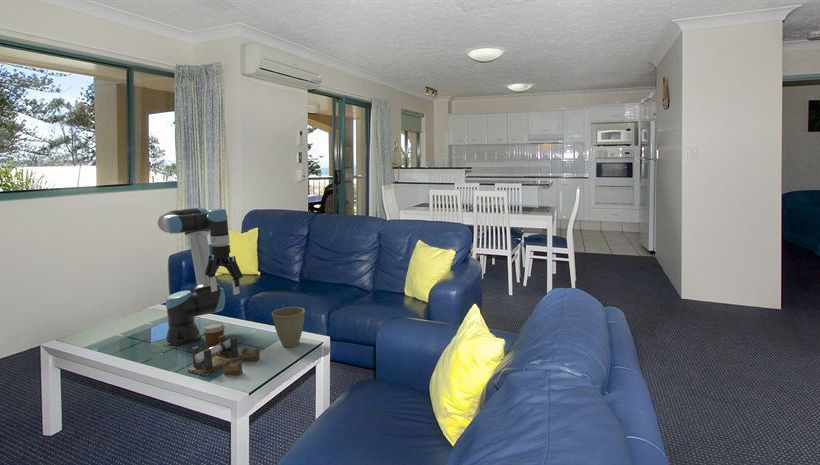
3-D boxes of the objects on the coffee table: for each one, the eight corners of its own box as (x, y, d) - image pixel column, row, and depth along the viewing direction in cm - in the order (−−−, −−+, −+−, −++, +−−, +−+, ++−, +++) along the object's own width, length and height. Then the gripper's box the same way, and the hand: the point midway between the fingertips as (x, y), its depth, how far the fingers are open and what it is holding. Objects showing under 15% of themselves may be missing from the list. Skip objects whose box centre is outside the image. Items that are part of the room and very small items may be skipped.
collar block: (188, 371, 208) (185, 350, 206) (227, 353, 226) (225, 333, 225) (205, 375, 203) (202, 353, 202) (243, 356, 222) (241, 336, 220)
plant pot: (305, 349, 227) (302, 315, 225) (271, 351, 226) (268, 317, 224) (308, 337, 242) (306, 305, 239) (277, 339, 241) (274, 307, 238)
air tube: (202, 364, 205) (201, 354, 204) (194, 362, 207) (193, 352, 206) (235, 348, 221) (234, 339, 220) (228, 347, 223) (227, 338, 222)
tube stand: (238, 376, 201) (237, 363, 201) (224, 375, 203) (222, 363, 202) (260, 359, 218) (259, 347, 217) (246, 358, 219) (245, 347, 218)
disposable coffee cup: (206, 356, 224) (203, 330, 222) (203, 349, 232) (201, 324, 230) (228, 351, 228) (225, 326, 226) (225, 345, 237) (222, 320, 235)
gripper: (193, 245, 219) (198, 292, 222) (234, 247, 208) (239, 297, 211) (207, 242, 226) (212, 287, 229) (248, 244, 214) (252, 292, 217)
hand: (225, 292), depth 220 cm, fingers open, 13 cm apart
